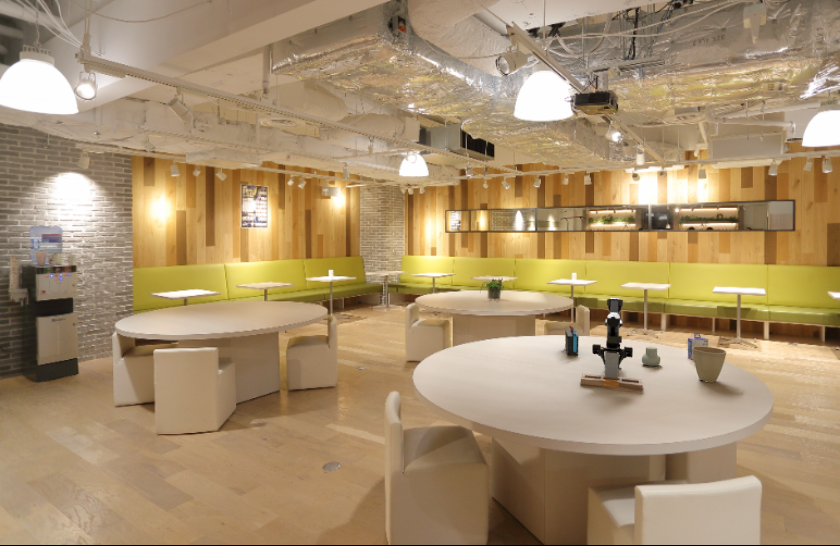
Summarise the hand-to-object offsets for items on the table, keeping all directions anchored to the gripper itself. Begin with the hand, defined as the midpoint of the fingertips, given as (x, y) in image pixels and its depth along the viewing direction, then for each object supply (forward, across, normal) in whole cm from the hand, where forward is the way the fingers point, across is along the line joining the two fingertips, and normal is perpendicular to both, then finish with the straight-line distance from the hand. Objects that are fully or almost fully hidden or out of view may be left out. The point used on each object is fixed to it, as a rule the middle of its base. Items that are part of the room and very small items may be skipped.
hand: (611, 365), depth 240 cm
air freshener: (-28, +20, +44) cm, 55 cm away
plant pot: (-13, +45, +28) cm, 55 cm away
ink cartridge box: (-45, +46, +61) cm, 89 cm away
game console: (-39, -25, +55) cm, 72 cm away
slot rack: (+7, 0, +8) cm, 11 cm away
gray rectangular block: (+4, 0, +6) cm, 7 cm away
